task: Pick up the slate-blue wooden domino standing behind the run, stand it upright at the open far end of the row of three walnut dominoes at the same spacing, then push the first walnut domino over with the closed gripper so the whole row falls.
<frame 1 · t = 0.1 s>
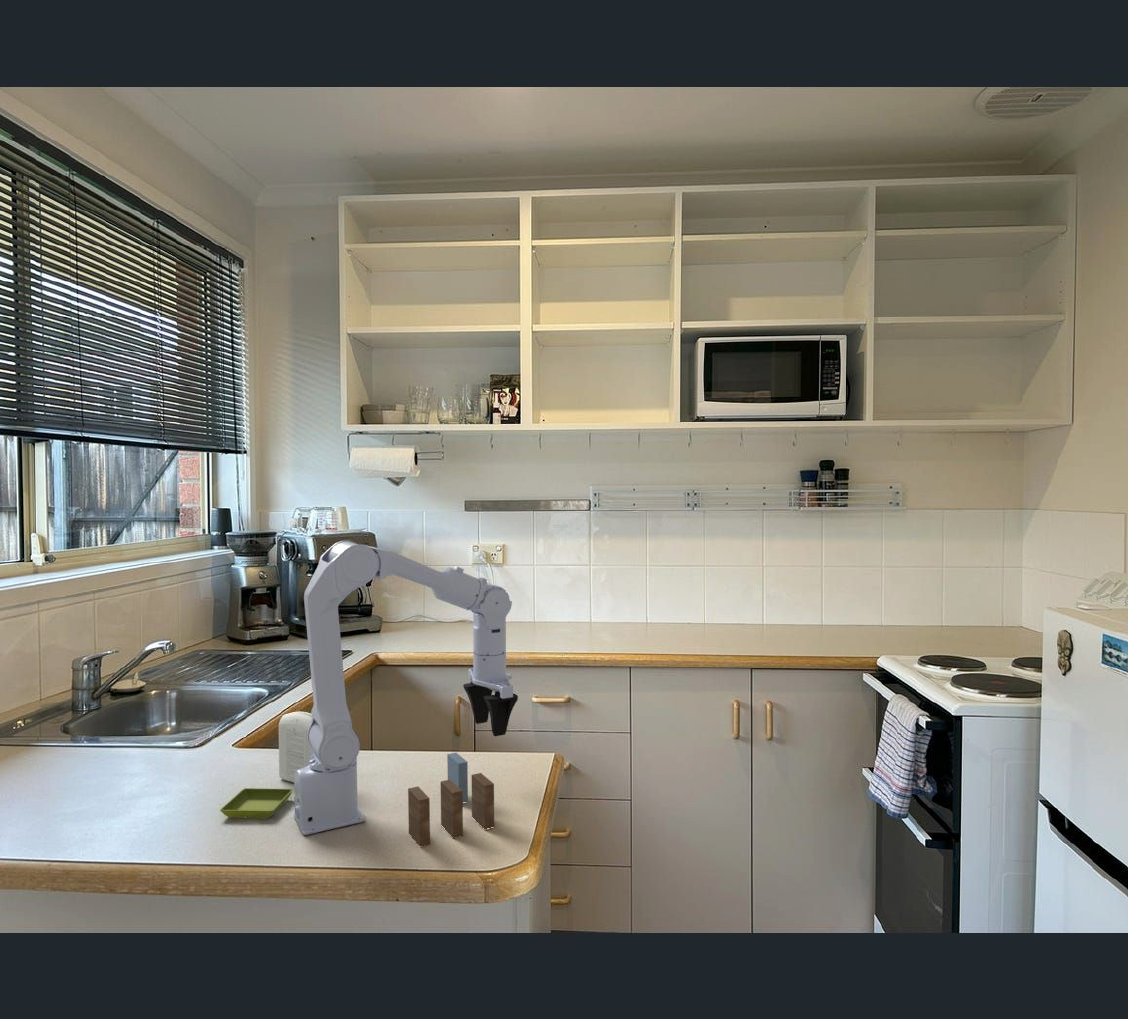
hand: (490, 728, 134), 10 cm above the counter, tool pointing down, fingers open, 7 cm apart
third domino: (482, 823, 119), on the counter
white rounded tombstone: (304, 782, 136), on the counter
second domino: (451, 830, 117), on the counter
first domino: (419, 839, 114), on the counter
end domino: (457, 798, 128), on the counter
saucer: (258, 812, 125), on the counter
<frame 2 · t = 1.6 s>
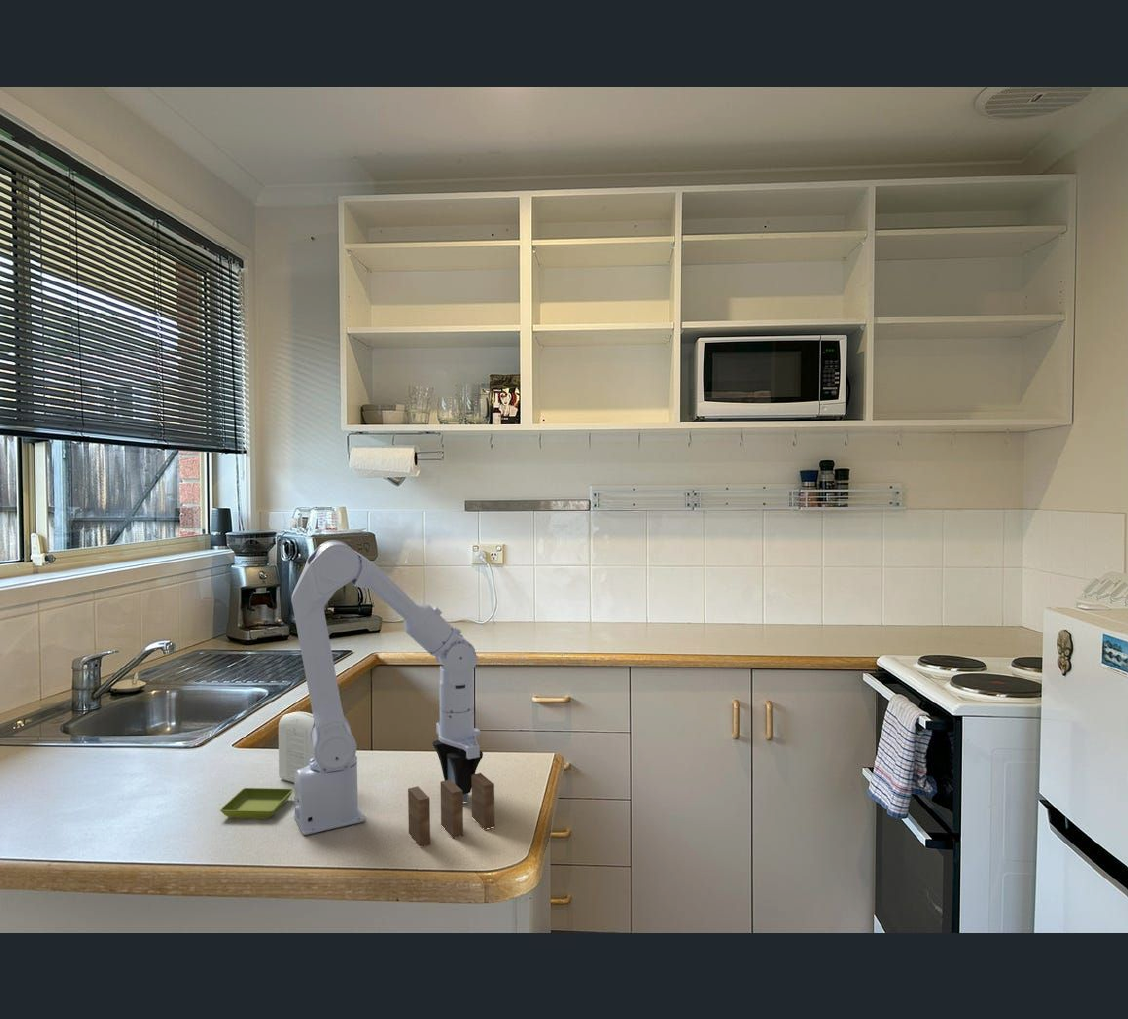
hand: (457, 787, 128), 2 cm above the counter, tool pointing down, fingers closed on end domino, 5 cm apart
end domino: (457, 798, 128), on the counter, touching gripper
everything else where it was.
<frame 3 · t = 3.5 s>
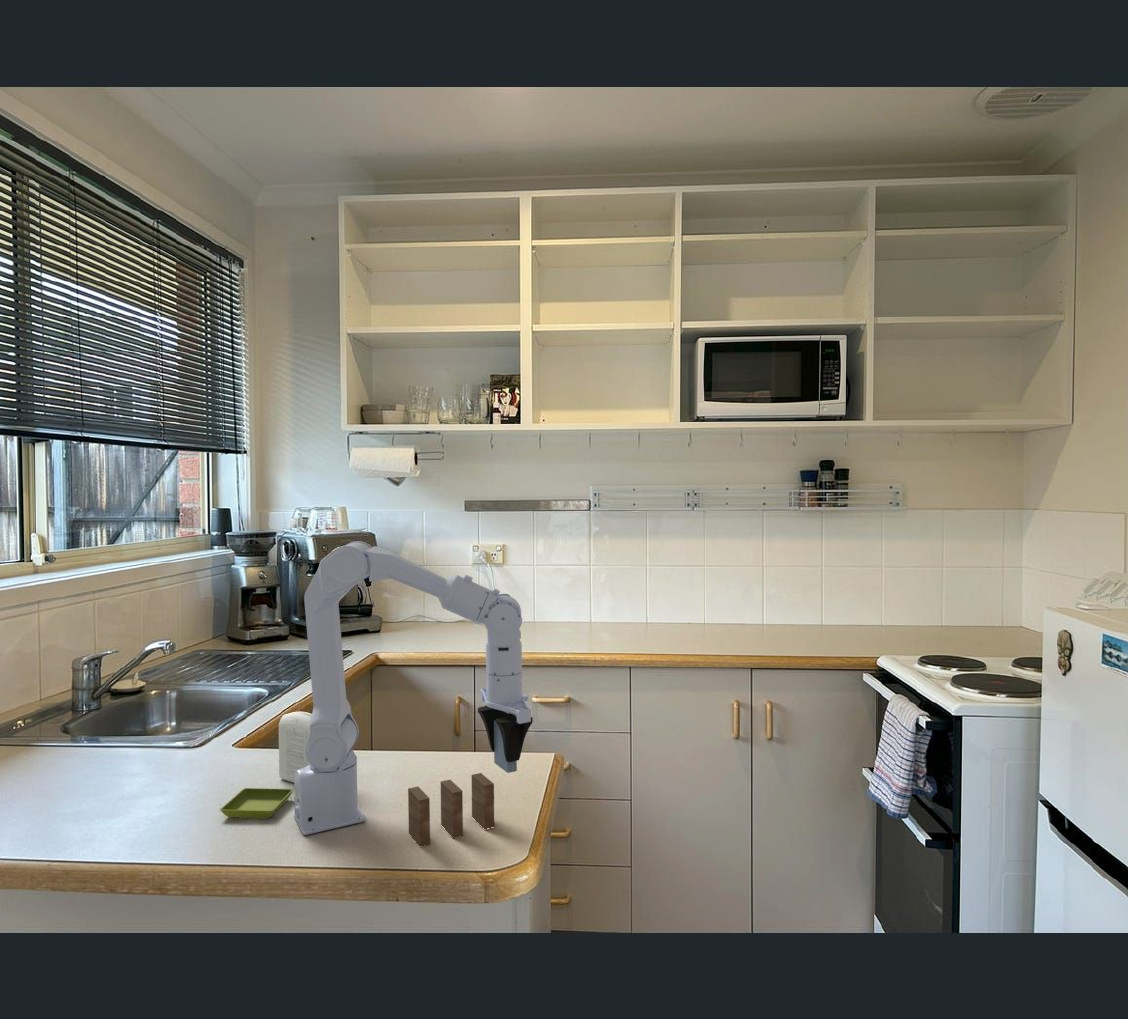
hand: (505, 755, 122), 9 cm above the counter, tool pointing down, fingers closed on end domino, 5 cm apart
end domino: (505, 766, 122), point 8 cm above the counter, touching gripper
everything else where it was.
when the fingers open (3 cm above the counter, at t = 5.7 s): end domino drops 1 cm, on the counter.
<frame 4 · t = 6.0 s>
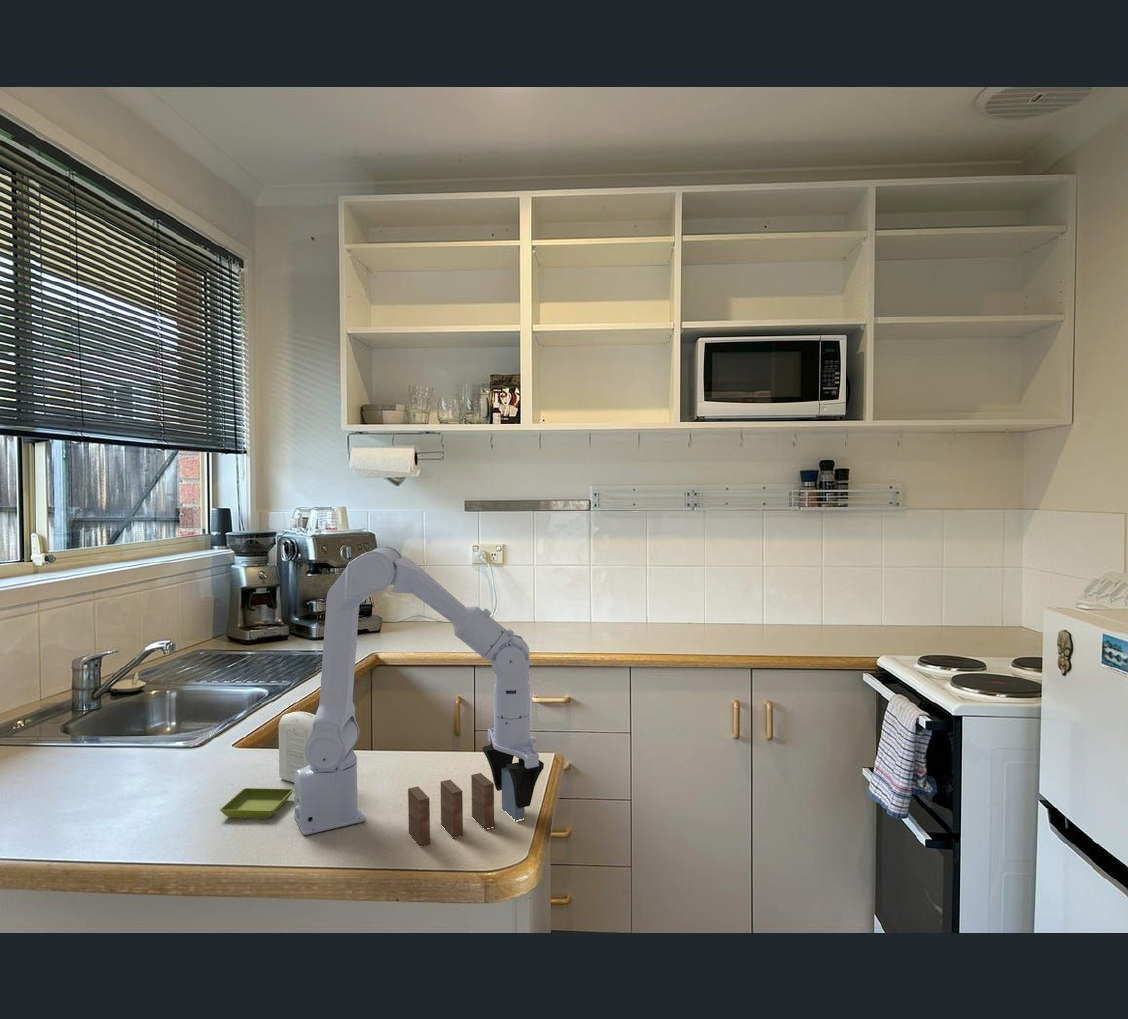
hand: (512, 797, 122), 3 cm above the counter, tool pointing down, fingers open, 7 cm apart
end domino: (513, 815, 122), on the counter
everything else where it was.
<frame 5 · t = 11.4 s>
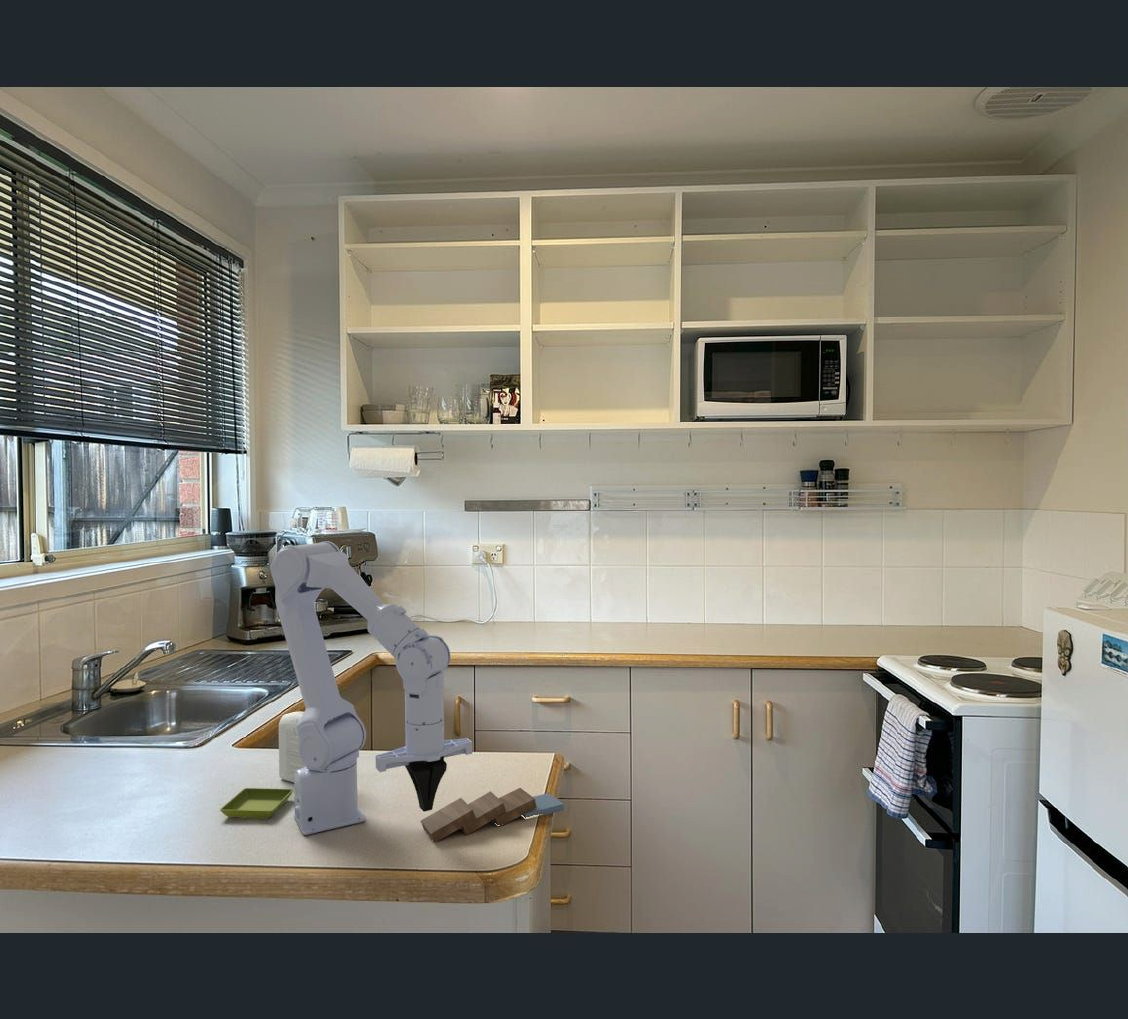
hand: (425, 808, 114), 4 cm above the counter, tool pointing down, fingers closed
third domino: (490, 816, 120), point 1 cm above the counter, tilted 78°
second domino: (458, 824, 117), point 1 cm above the counter, tilted 72°, touching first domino
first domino: (427, 831, 115), point 1 cm above the counter, tilted 71°, touching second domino
end domino: (518, 812, 122), on the counter, tilted 90°
everything else where it was.
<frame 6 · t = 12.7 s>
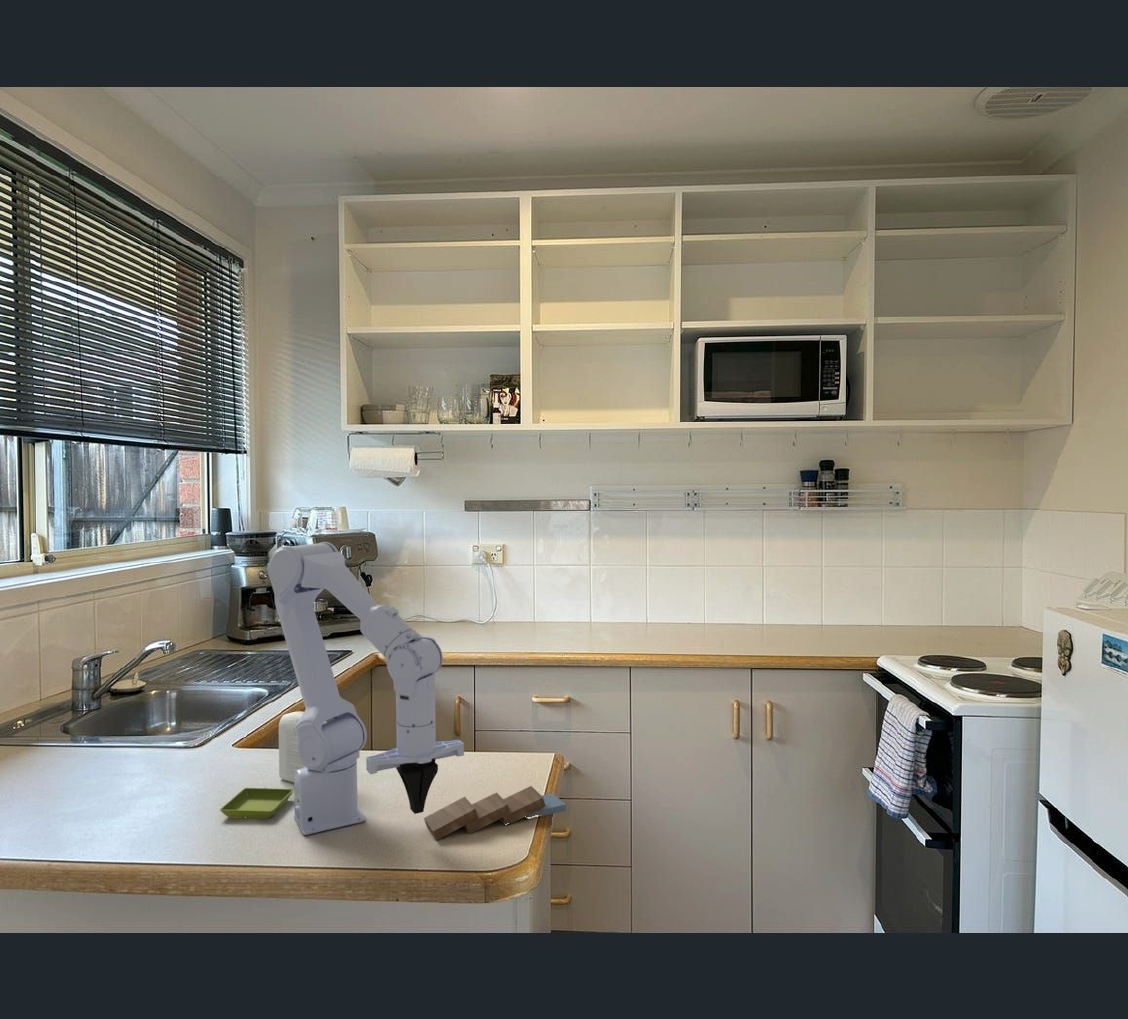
hand: (416, 810, 114), 4 cm above the counter, tool pointing down, fingers closed
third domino: (499, 814, 120), point 1 cm above the counter, tilted 75°, touching end domino, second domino
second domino: (462, 822, 118), point 1 cm above the counter, tilted 74°, touching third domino
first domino: (429, 829, 115), point 1 cm above the counter, tilted 73°
end domino: (520, 812, 122), on the counter, tilted 90°, touching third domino
everything else where it was.
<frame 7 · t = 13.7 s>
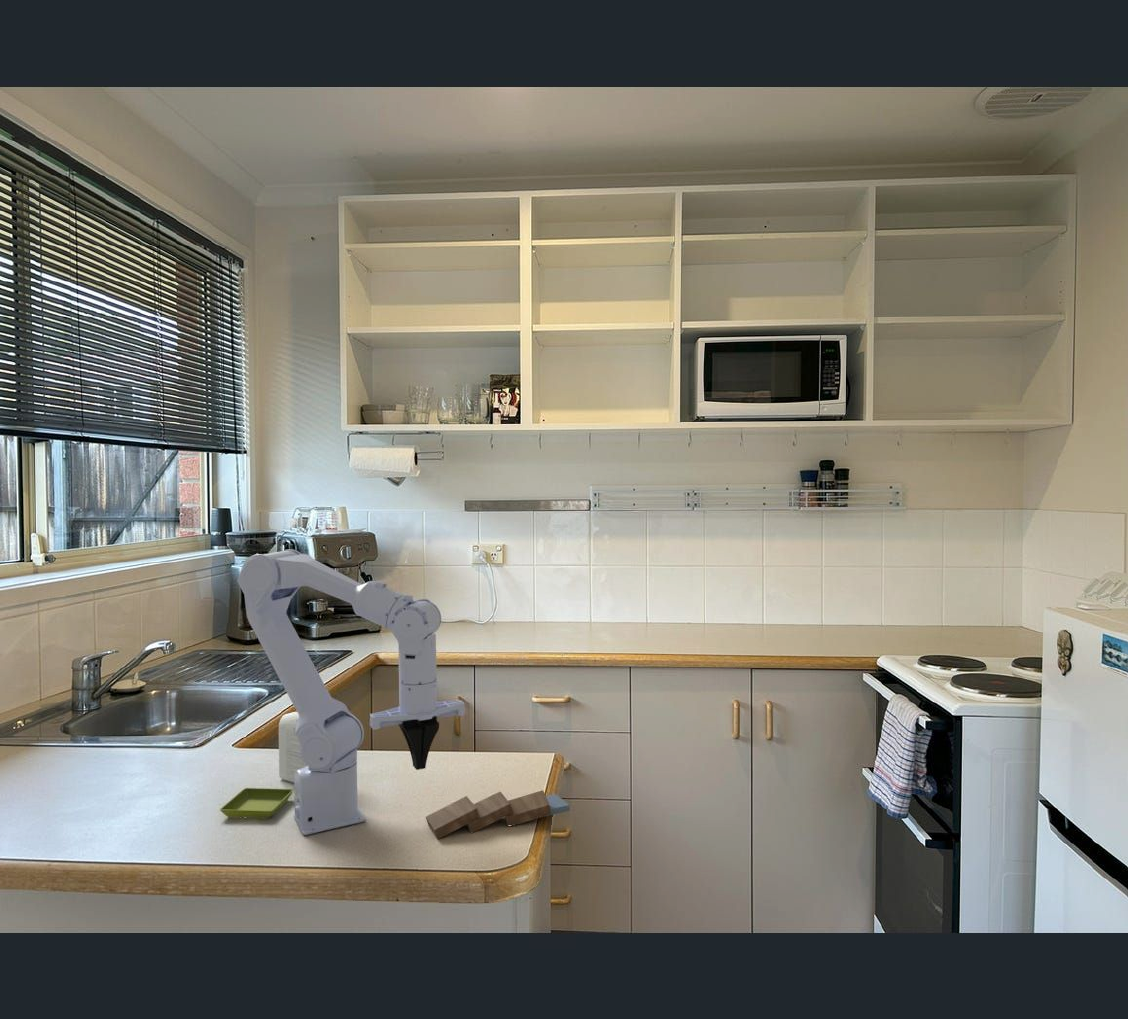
hand: (419, 767, 117), 9 cm above the counter, tool pointing down, fingers closed
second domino: (465, 821, 118), point 1 cm above the counter, tilted 73°, touching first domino, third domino
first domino: (431, 827, 116), point 1 cm above the counter, tilted 73°, touching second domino
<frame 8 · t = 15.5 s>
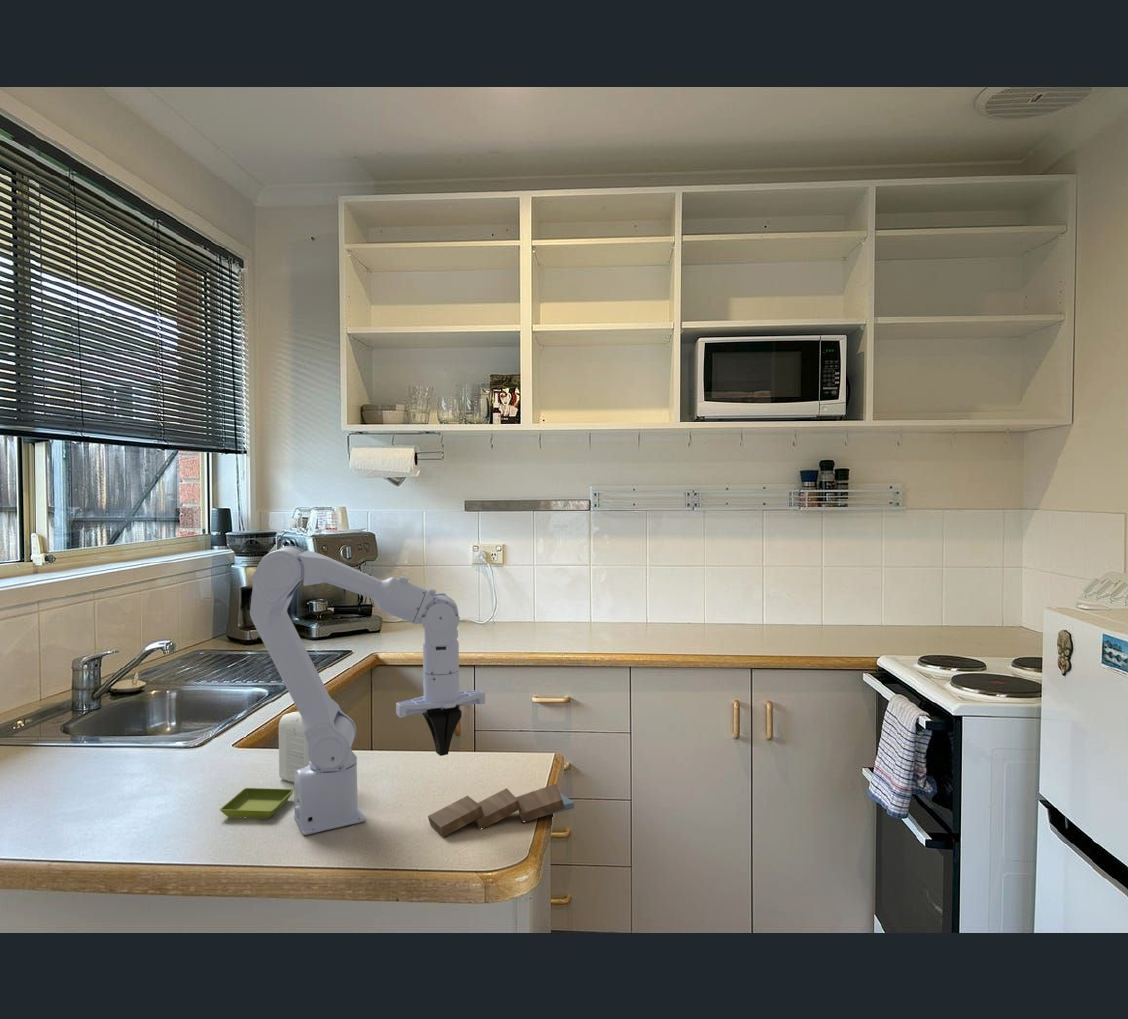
hand: (442, 753, 123), 9 cm above the counter, tool pointing down, fingers closed
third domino: (518, 810, 121), point 1 cm above the counter, tilted 75°
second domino: (473, 818, 119), point 1 cm above the counter, tilted 73°, touching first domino
end domino: (529, 811, 123), on the counter, tilted 90°
at the end: end domino tilted 90°; end domino inside the target area (1.7 cm from its centre), on the counter; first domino tilted 76° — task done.
